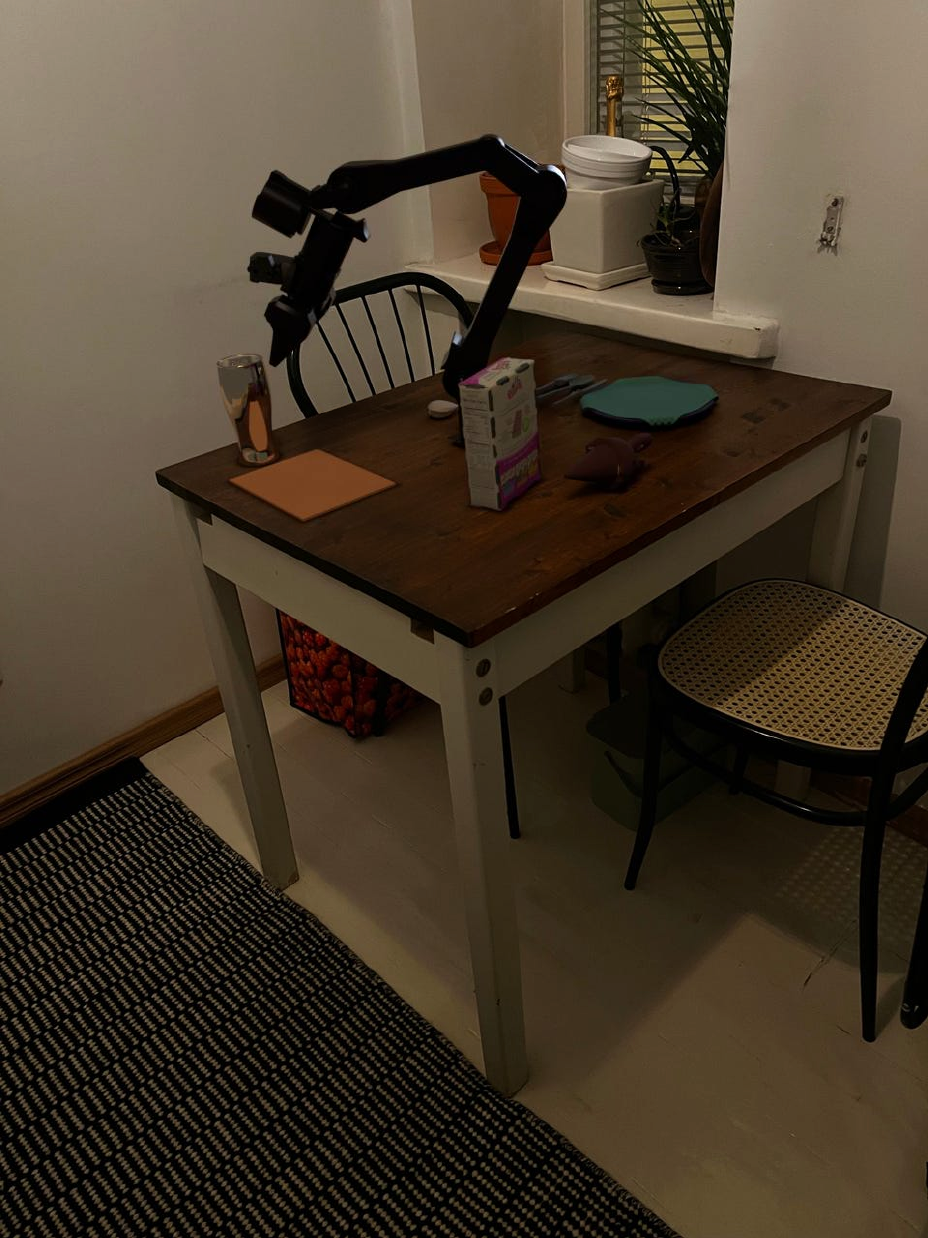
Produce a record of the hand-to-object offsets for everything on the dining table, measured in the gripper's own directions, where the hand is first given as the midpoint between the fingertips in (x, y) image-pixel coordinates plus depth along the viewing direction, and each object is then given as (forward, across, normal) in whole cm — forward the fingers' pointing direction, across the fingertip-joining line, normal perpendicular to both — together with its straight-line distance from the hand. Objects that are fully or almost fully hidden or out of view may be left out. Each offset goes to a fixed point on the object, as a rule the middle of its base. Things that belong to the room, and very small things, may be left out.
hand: (280, 355), depth 137 cm
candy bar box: (-5, +18, +35) cm, 40 cm away
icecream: (-12, +18, +47) cm, 51 cm away
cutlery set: (-14, -14, +50) cm, 54 cm away
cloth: (+10, +12, +12) cm, 20 cm away
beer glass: (+15, +2, +3) cm, 16 cm away
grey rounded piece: (+1, -13, +26) cm, 29 cm away
